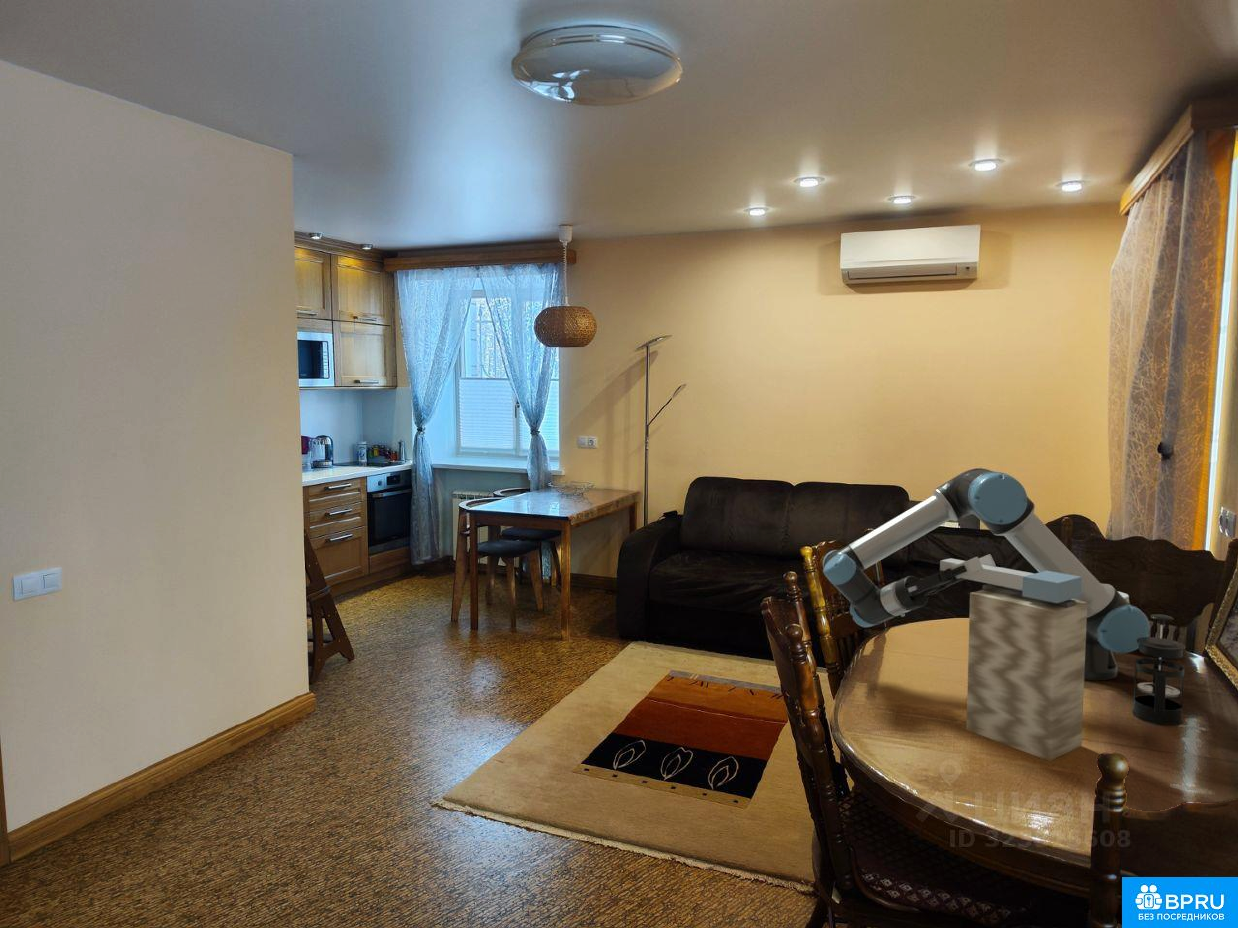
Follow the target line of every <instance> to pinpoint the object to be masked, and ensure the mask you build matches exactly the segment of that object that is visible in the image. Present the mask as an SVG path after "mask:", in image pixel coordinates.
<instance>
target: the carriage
mask: <svg viewBox="0 0 1238 928" xmlns="http://www.w3.org/2000/svg"><path fill="white" fill-rule="evenodd" d="M965 561H966V560H962V559H958V558H957V559H956V558H951V557H950V558H946V559H942V560H940V561H939V562H940V564H939V571H941V570H942V571H945V570H946V569H948V568H949V569H950V568H951V570H953V569H952V567H954V566H956V565H958V564H961V563H963V562H965ZM981 565H982V567H983V569H981V570H978V571H976V572H973V573H971V574H969V575H966V576H964V577H961V578H964V580H968V581H974V582H979V583H983V584H984V583H985V584H993V585H998V586H1003V587H1008V588H1013V589H1018V590H1022V596H1025V597H1029V598H1034V599H1039V600H1044V601H1049V602H1053V603H1060V602H1063V601H1067V600H1070V599H1074V598H1077V597H1081V585H1082V577H1080V576H1074V575H1069V574H1063V573H1057V572H1052V571H1044V572H1036V573H1033V572H1028V571H1024V570H1023V571H1022V570H1018V569H1017V570H1016V569H1012V568H1007V567H999V566H990V565H985V564H981ZM955 577H956V576H955Z"/></svg>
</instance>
